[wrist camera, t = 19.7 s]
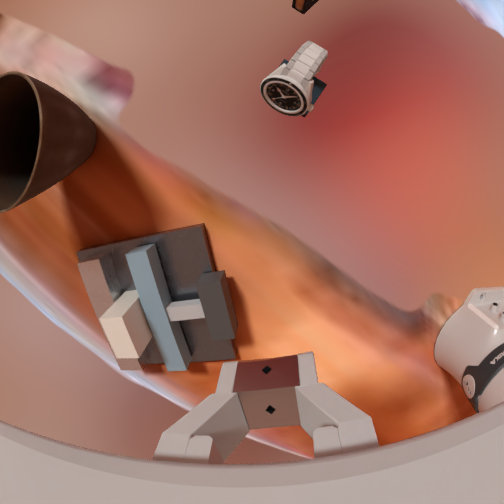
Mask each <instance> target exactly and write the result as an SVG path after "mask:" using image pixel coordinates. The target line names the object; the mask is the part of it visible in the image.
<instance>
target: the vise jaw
mask: <svg viewBox="0 0 504 504" xmlns="http://www.w3.org/2000/svg"><path fill="white" fill-rule="evenodd" d="M125 255H126V259H127V262H128V265H129V268H130V271H131V275H132V278H133V281H134V284H135V287H136V290H137V293H138V295H139V298H140V301H141V304H142V307H143V310H144V312H145V315H146V318H147V320H148V323H149V326H150V328H151V331H152V333H153V336H154V339H155V341H156V344H157V346H158V349H159V351H160V353H161V356H162V358H163V361H164V363H165V365H166V368H167V370H168V371H185V370H187V369H188V366H189V364H190V361H191V359H192V357H191V355H190V352H189V349H188V346H187V344H186V341H185V338H184V335H183V332H182V329H181V326H180V324H179V320H189V319H198V318H205V319H206V322H207V325H208V329H209V332H210V335H211V339H212V341H216V340H226V339H235V336H236V332H237V327H238V323H237V319H236V315H235V311H234V307H233V303H232V299H231V294H230V290H229V286H228V282H227V278H226V274H225V270H223V271H217V272H210V273H204V274H202V275H201V276H200V278H199V280H198V281H197V283H196V288H197V291H198V295H199V298H200V299H193V300H185V301H177V302H172V299H171V296H170V293H169V290H168V287H167V283H166V280H165V277H164V273H163V270H162V267H161V263H160V260H159V256H158V253H157V249H156V246H155V243H154V244H149V245H144V246H139V247H135V248H133V249H132V250H131V251H129V252H128V253H127V254H125Z"/></svg>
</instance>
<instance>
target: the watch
mask: <svg viewBox="0 0 504 504" xmlns="http://www.w3.org/2000/svg"><path fill="white" fill-rule="evenodd" d="M327 53H328V51H326V50H325V49H323V48H321V47H320V46H318V45H316V44H315V43H313V42H311V41H308V42H306V43H305V44H303V45H302V47H301V48H300V49H299V50H298V51H297V52H296V54H295V55H294V56H293V57H292V58H291V60H290V61H287V60H285V59H284V60H283V62H282V63H281V65H280V66H279V67H278V69H276V70H275V71H274V72H272V73H271V74H269V75H268V77H266V78H265V79H264V80H263V81H262V82H261V85H260V92H261V95H262V97H263V99H264V100H265V101H266V103H267V104H268V105H269V106H271V107H272V108H273V109H274V110H276V111H278V112H280V113H282V114H284V115H288V116H299V115H301V116H303V117H305V116H306V115H307V114H308V112H311V111H312V110H313V108H314V103H315V102H316V100H317V99H318V97H319V96H320V94H321V93H322V91H323V90H324V88H325V86H326V84H325V83H324V82H322V81H321V80H319V79H317V78H316V77H314V76H315V75H316V73H317V72H319V71H320V67H321V66H322V64H323V62H324V61H325V59H326V57H327Z"/></svg>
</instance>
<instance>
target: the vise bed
mask: <svg viewBox="0 0 504 504" xmlns="http://www.w3.org/2000/svg"><path fill="white" fill-rule="evenodd" d="M154 243H155V246H156V249H157V253H158V256H159V260H160V263H161V267H162V270H163V273H164V277H165V280H166V283H167V287H168V290H169V293H170V296H171V299H172V302H177V301H185V300H193V299H200V298H199V295H198V291H197V288H196V283H197V281H198V280H199V278H200V276H201V275H202V274H204V273H210V272H216V271H215V267H214V263H213V259H212V255H211V251H210V247H209V243H208V239H207V234H206V230H205V226H204V223H202V224H197V225H192V226H187V227H182V228H177V229H172V230H167V231H162V232H157V233H152V234H147V235H143V236H138V237H133V238H129V239H124V240H119V241H115V242H110V243H106V244H101V245H97V246H93V247H88V248H84V249H81V250H79V251H77V252H76V253H77V256H78V259H79V263H77V265H78V268H79V271H80V274H81V277H82V279H83V282H84V285H85V288H86V290H87V293H88V296H89V298H90V301H91V303H92V306H93V309H94V311H95V313H96V316H97V318H98V321H99V323H100V325H101V328H102V330H103V332H104V335H105V337H106V339H107V341H108V344H109V346H110V348H111V350H112V352H113V354H114V356H115V358H116V360H117V363H118V365H119V367H120V369H121V370H143V368H144V367H145V365H146V364H157V363H164V361H163V358H162V356H161V353H160V351H159V349H158V346H157V344H156V341H155V339H154V336H153V337H152V338H151V340H150V341H149V343H148V345H147V346H146V348H145V350H144V351H143V353H142V354H141V356H140V358H117V357H116V355H115V353H114V351H113V349H112V347H111V345H110V342H109V340H108V338H107V336H106V334H105V331H104V329H103V327H102V324H101V322H100V320H99V318H100V317H101V316H102V315H103V314H104V313H105V312H106V311H107V310H108V309H109V308H110V307H111V306H112V305H113V304H114V303H115V302H116V301H117V300H118V299H119V298H120V297H121V296H122V295H123V293H124V292H125V291H132V290H136V287H135V284H134V281H133V278H132V275H131V271H130V268H129V265H128V262H127V259H126V255H125V254H127V253H128V252H129V251H131V250H132V249H133V248H135V247H139V246H144V245H149V244H154ZM179 324H180V326H181V329H182V332H183V335H184V338H185V341H186V344H187V346H188V349H189V352H190V355H191V357H192V359H191V361H190V362H200V361H215V360H227V359H236V355H237V351H236V348H235V344H234V340H233V339H226V340H216V341H212V339H211V335H210V332H209V329H208V325H207V322H206V319H205V318H198V319H189V320H179Z"/></svg>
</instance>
